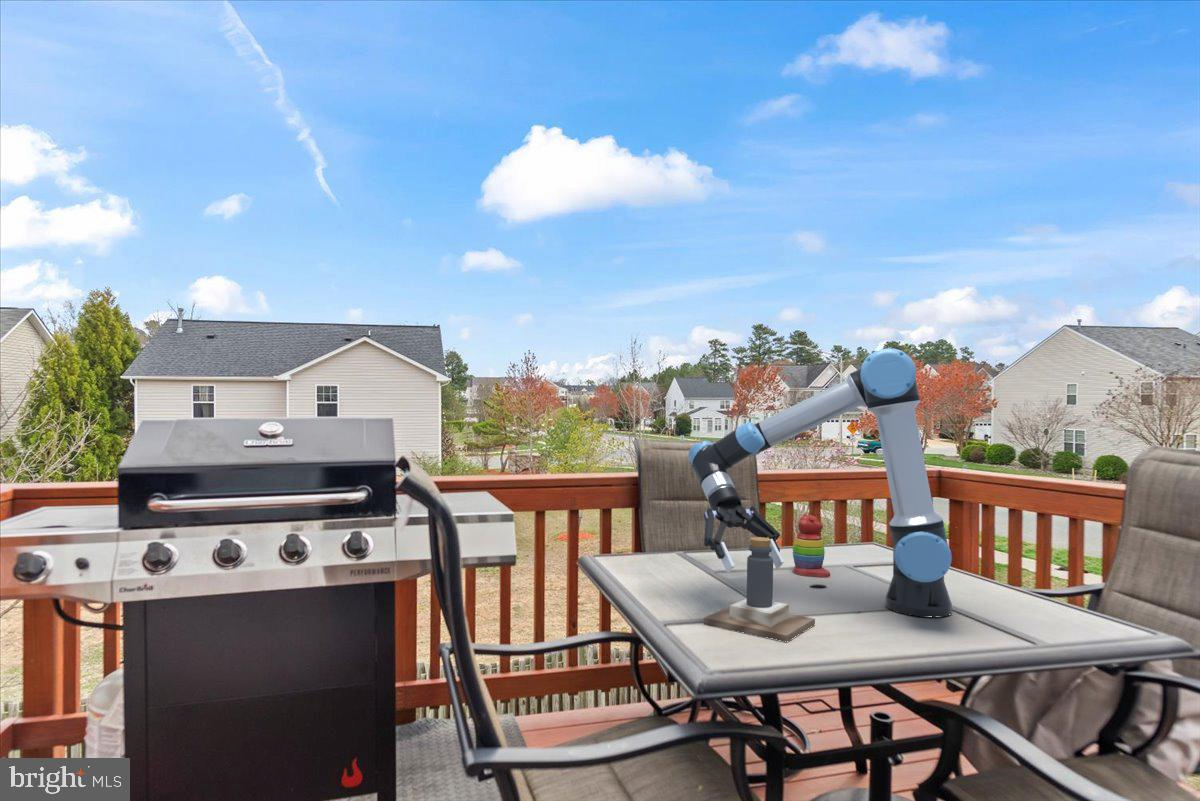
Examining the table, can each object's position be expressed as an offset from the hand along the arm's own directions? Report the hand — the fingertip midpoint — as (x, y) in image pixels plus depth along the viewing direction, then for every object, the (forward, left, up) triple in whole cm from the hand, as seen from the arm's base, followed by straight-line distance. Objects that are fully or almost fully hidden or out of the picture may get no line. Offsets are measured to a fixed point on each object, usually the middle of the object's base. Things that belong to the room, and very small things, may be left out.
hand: (756, 567), depth 161 cm
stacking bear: (+10, -59, -13) cm, 61 cm away
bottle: (-1, 0, -8) cm, 8 cm away
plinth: (-1, 0, -13) cm, 13 cm away
